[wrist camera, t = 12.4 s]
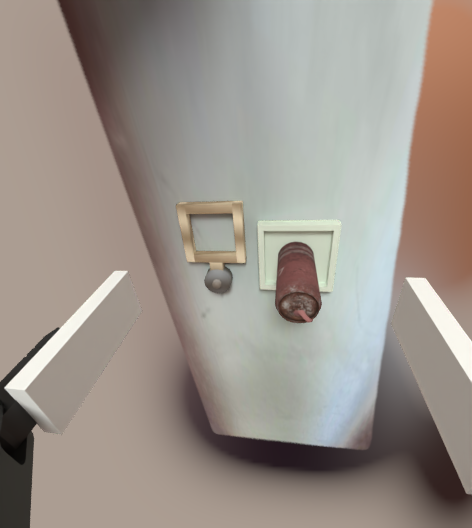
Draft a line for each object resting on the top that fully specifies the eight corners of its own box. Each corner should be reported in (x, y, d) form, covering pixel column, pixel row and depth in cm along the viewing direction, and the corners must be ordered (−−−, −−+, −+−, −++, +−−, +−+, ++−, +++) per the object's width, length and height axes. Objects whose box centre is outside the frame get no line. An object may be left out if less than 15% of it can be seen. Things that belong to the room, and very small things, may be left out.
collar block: (179, 202, 46) (172, 209, 43) (242, 200, 44) (239, 207, 41) (195, 284, 55) (190, 294, 52) (248, 286, 53) (246, 296, 50)
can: (296, 276, 49) (299, 333, 38) (271, 255, 48) (265, 308, 36) (322, 256, 46) (334, 310, 35) (295, 233, 45) (298, 282, 33)
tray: (258, 220, 45) (257, 225, 44) (339, 219, 43) (341, 224, 41) (260, 283, 52) (259, 289, 50) (330, 285, 50) (332, 291, 48)
